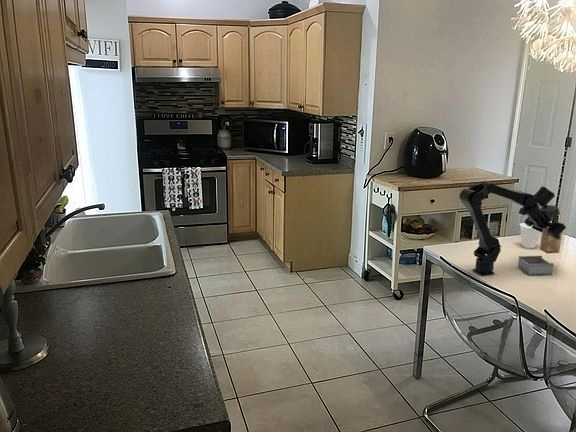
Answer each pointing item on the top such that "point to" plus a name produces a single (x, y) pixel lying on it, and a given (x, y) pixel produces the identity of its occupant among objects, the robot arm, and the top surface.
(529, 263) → the large crate
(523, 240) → the cup
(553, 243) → the small crate
